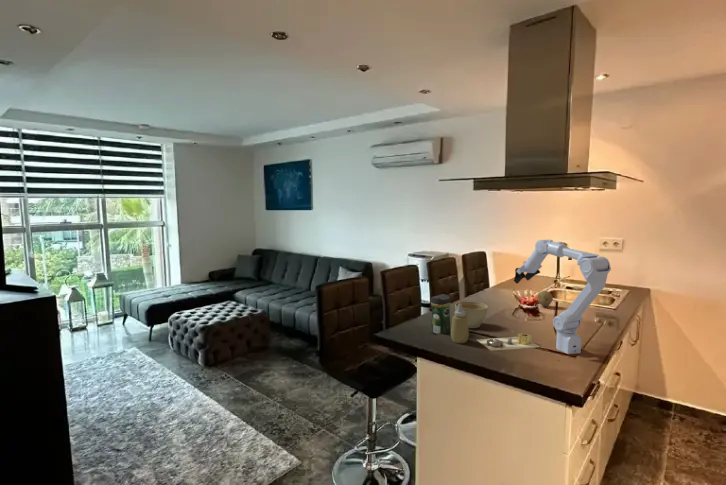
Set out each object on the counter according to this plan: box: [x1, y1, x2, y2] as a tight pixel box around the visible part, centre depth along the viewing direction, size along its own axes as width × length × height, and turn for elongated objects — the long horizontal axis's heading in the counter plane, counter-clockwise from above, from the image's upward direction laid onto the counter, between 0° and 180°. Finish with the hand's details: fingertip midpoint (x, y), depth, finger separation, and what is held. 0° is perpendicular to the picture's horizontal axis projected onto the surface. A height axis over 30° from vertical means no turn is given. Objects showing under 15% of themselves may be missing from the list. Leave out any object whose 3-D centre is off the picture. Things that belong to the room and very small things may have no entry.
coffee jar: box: [430, 293, 451, 335], centre depth 197 cm, size 10×8×19 cm
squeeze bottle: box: [450, 304, 470, 344], centre depth 181 cm, size 8×8×18 cm
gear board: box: [476, 336, 541, 352], centre depth 179 cm, size 14×23×4 cm, turn 100°
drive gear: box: [487, 338, 503, 348], centre depth 176 cm, size 7×7×2 cm
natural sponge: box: [536, 290, 554, 308], centre depth 242 cm, size 9×9×10 cm
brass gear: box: [517, 332, 532, 345], centre depth 179 cm, size 6×6×4 cm
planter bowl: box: [454, 301, 489, 329], centre depth 207 cm, size 16×16×11 cm
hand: (521, 280), depth 194 cm, fingers open, 7 cm apart
